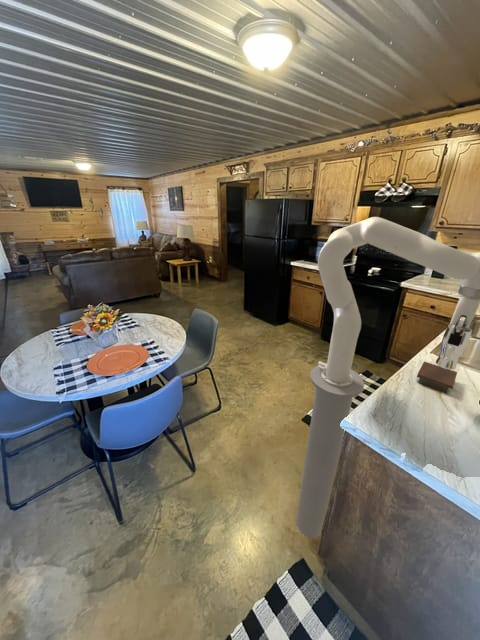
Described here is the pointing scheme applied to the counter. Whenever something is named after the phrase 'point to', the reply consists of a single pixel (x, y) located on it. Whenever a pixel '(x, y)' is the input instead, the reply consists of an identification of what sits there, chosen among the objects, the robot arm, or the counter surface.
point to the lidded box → (436, 377)
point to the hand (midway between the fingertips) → (454, 340)
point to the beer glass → (452, 349)
